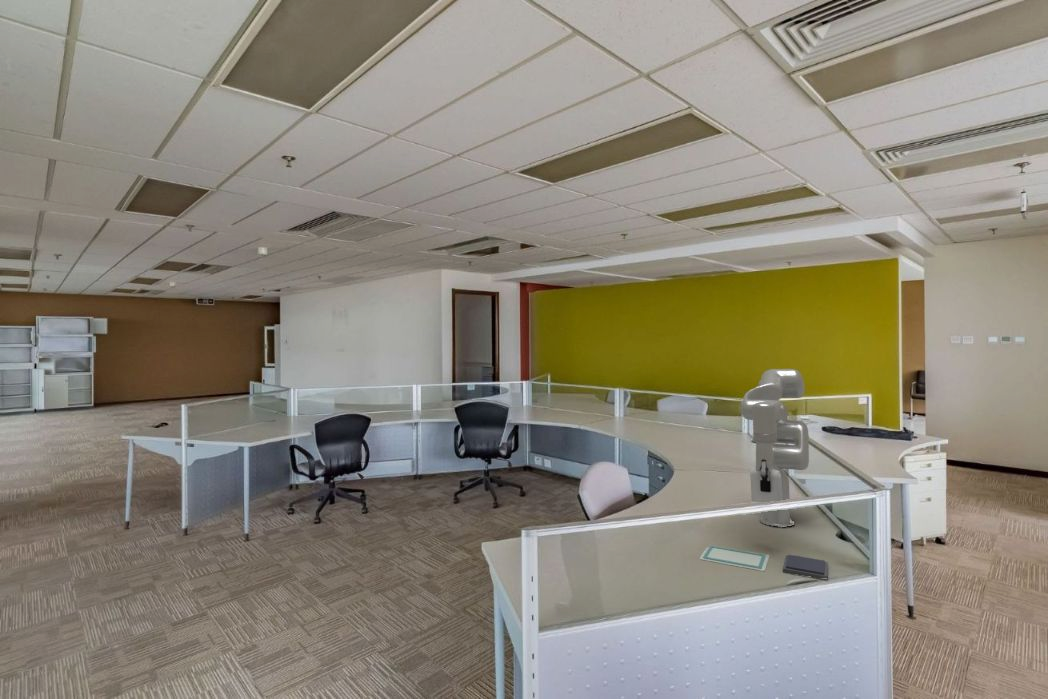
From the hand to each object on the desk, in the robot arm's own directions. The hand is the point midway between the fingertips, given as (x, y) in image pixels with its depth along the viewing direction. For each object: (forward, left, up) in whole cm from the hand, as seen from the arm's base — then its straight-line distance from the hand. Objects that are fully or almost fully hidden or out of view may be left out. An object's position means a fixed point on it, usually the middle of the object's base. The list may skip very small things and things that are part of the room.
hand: (766, 488), depth 177 cm
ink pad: (+12, +12, -21) cm, 27 cm away
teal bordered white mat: (+13, -9, -21) cm, 26 cm away
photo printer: (0, 0, -5) cm, 5 cm away
